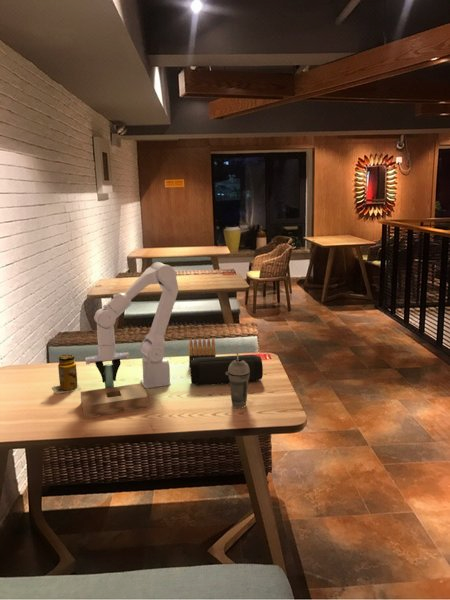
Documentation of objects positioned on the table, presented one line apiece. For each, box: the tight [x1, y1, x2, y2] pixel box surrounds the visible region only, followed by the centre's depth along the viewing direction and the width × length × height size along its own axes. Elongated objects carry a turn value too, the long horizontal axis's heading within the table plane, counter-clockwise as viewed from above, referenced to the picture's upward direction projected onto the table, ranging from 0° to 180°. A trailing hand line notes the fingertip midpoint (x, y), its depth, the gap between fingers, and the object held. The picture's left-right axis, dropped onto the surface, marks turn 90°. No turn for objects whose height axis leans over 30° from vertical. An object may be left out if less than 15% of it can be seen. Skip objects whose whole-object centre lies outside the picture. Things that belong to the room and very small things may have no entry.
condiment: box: [51, 353, 82, 395], centre depth 176 cm, size 7×8×12 cm
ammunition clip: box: [188, 337, 217, 369], centre depth 196 cm, size 11×2×12 cm, turn 92°
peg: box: [103, 363, 115, 388], centre depth 172 cm, size 3×3×8 cm
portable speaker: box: [189, 354, 264, 386], centre depth 180 cm, size 26×10×10 cm, turn 97°
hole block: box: [80, 382, 149, 419], centre depth 162 cm, size 20×12×4 cm, turn 110°
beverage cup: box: [228, 345, 250, 409], centre depth 159 cm, size 7×7×20 cm
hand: (109, 380), depth 172 cm, fingers closed on peg, 3 cm apart
